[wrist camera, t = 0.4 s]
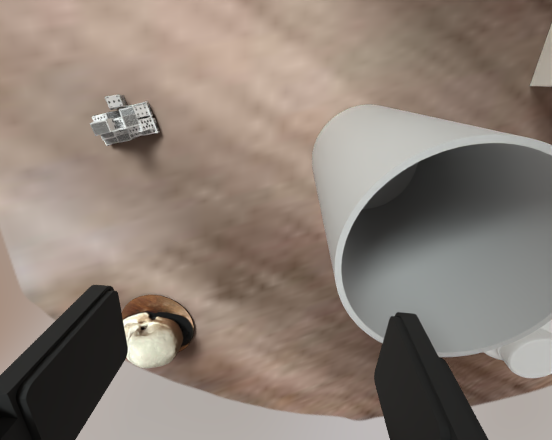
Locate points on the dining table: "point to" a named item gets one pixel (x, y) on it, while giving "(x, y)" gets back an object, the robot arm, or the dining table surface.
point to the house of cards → (124, 121)
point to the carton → (544, 64)
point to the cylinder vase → (437, 226)
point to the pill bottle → (528, 353)
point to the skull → (155, 330)
